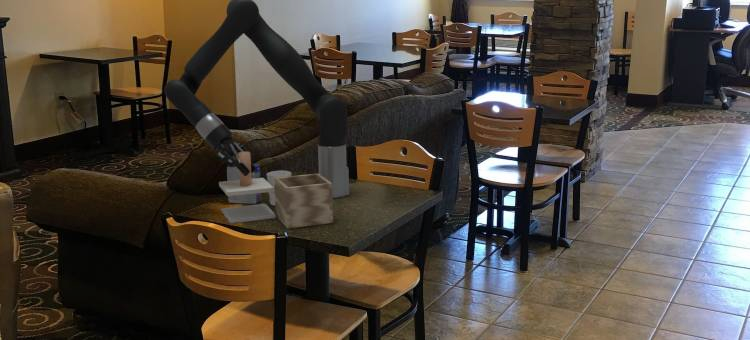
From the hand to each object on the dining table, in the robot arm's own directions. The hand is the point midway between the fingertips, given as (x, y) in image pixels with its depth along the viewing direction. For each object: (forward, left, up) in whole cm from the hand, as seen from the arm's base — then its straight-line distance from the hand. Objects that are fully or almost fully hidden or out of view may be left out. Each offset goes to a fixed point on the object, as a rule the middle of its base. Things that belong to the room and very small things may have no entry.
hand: (251, 172), depth 247 cm
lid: (+2, -1, -5) cm, 6 cm away
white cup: (-11, -10, -14) cm, 20 cm away
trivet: (+1, -1, -14) cm, 14 cm away
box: (-13, +11, -13) cm, 22 cm away
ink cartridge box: (-1, -17, -14) cm, 22 cm away
